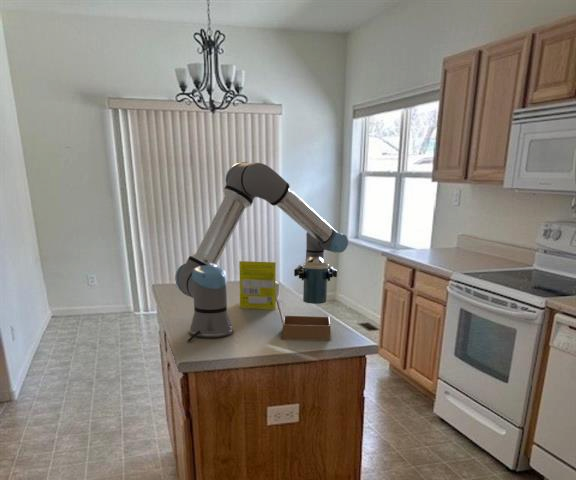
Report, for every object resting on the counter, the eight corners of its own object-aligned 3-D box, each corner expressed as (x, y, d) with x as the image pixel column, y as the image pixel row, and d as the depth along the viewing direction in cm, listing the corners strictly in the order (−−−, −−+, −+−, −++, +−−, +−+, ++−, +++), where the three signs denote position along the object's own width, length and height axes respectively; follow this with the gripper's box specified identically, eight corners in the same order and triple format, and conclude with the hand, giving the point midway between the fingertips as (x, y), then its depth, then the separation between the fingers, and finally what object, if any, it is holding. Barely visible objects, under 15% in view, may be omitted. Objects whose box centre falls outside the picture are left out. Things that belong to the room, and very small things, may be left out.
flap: (283, 322, 187) (282, 323, 187) (284, 313, 199) (283, 314, 199) (277, 300, 184) (276, 300, 184) (279, 292, 196) (278, 292, 196)
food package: (275, 309, 230) (275, 262, 223) (274, 309, 229) (275, 262, 222) (240, 307, 232) (239, 260, 224) (239, 308, 231) (239, 261, 223)
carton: (282, 339, 189) (282, 324, 187) (283, 329, 201) (284, 315, 199) (329, 340, 189) (330, 326, 187) (328, 330, 201) (329, 316, 199)
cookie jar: (317, 305, 198) (318, 261, 192) (297, 301, 204) (298, 258, 198) (332, 300, 205) (334, 258, 199) (312, 297, 211) (314, 255, 205)
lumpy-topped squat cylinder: (280, 299, 246) (280, 281, 243) (252, 300, 243) (252, 281, 240) (275, 294, 256) (275, 276, 253) (248, 295, 253) (248, 277, 250)
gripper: (341, 276, 218) (344, 287, 198) (288, 275, 219) (286, 286, 198) (342, 257, 216) (346, 267, 195) (288, 256, 216) (286, 266, 195)
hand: (315, 277), depth 196 cm, fingers closed on cookie jar, 9 cm apart
